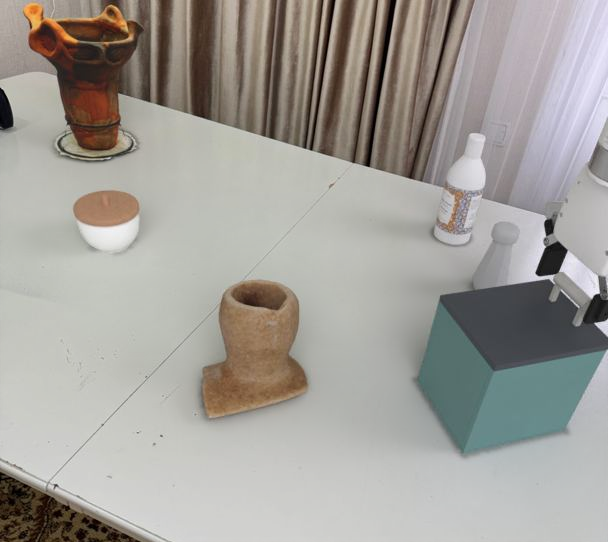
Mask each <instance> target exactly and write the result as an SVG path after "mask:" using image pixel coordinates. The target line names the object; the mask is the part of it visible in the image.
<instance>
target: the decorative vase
mask: <svg viewBox="0 0 608 542" xmlns="http://www.w3.org/2000/svg"><path fill="white" fill-rule="evenodd" d="M22 13H23V15H24V17H25V19H27V21H28V24H29V30H30V31H29V33H28V36H27V37H28V39H27V41H28V47H29V48H30V50H31V51H33V52H35V53H37V54H39V55H40V56H42V57H43V58H44V59H46V60H47V61H48V62H49V63H50V64H51V65H52V66H53V67H54V68H55V70H56V78H57V84H58V88H59V95H60V101H61V104H62V108H63V112H64V114H65V115H64V119H65V122H66V126H65V127H68V126H69V129H70V131H69V130H68V131H65V132H64V133H62V134H59V135H58V136H57V137H55V142H54V147H55V149H56V150H55V151H57V152H60V153H59V155H62V156H69V157H70V158H73V159H79V160H83V161H84V160H86V161H103V160H110V159H112V157H114V156H121V155H123V154H125V153H129V152H133V151H134V150H137V149H138V148H137V147H136V146H137V145H138V143H137V142H136V139H135V138H134V136H132V135H131V134H130V133H128V132H125V131H124V130H123V129H121V130H120V127H122V125H121V120H122V117H121V115H120V99H119V82H120V71H121V69H122V68H123V66H124V65H125V64H127V62H128V61H129V60H131V58H132V56H133V54H134V53H135V51H136V50H137V47H138V42H139V37H140V35H141V34H142V33H143V32H145V28H144V26H143V25H142V24H141V23H139V22H138V21H136V20H134V19H130V18H129V19H127V20H125V19H124V16H123V14H122V12H121V10H120V9H119V7H117V6H115V5H112V4H110V5H108V6H106V7H105V9H104V10H103V12H102V13H101V14H99V15H97V16H95V17H57V18H51V17H44V6H42V5H41V4H40V3H37V2H30V3H28V4H27V5H24V8H23V9H22Z"/></svg>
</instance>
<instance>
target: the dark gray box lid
mask: <svg viewBox="0 0 608 542" xmlns="http://www.w3.org/2000/svg"><path fill="white" fill-rule="evenodd" d="M439 300H440V302H441V303H442V304H443V305H444V307H445V308H446V309H447V311H448V312H449V313H450V315H451V316H452V317H453V318H454V320H455V321H456V322H457V324H458V325H459V326H460V328H461V329H462V330H463V332H464V333H465V334H466V335H467V337H468V338H469V339H470V341H471V342H472V343H473V345H474V346H475V347H476V348H477V350H478V351H479V352H480V354H481V355H482V356H483V358H484V359H485V360H486V361H487V363H488V364H489V365H490V367H491V368H492V369H493V371H499V370H504V369H510V368H515V367H520V366H525V365H531V364H536V363H541V362H546V361H551V360H557V359H562V358H567V357H572V356H578V355H583V354H588V353H593V352H598V351H604V350H607V351H608V336H607V335H606V333H604V331H603V330H602V329H600V327H599V326H598V325H596V323H592V324H585V323H584V322H583V317H584V315H585V313H586V311H587V308H588V306H589V304H590V302H591V300H592V297H590V296H589V295H588V294H587V293H586V292H585V291H584V290H583V289H582V288H581V287H580V286H579V285H578V284H577V283H576V282H574V280H573V279H572V278H570V277H569V276H568V275H567V274H566V273H565V272H564V271H559V273H557V274H555V275H553V278H552V280H551V279H550V278H546V279H545V278H544V279H539V280H534V281H526V282H525V281H524V282H519V283H512V284H507V285H505V286H498V287H491V288H485V289H478V290H474V289H471V290H465V291H458V292H452V293H451V292H450V293H446V294H440V295H439V299H438V301H439Z"/></svg>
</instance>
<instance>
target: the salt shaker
mask: <svg viewBox="0 0 608 542" xmlns="http://www.w3.org/2000/svg"><path fill="white" fill-rule="evenodd" d="M520 233H521V230H520V228H519V226H518V225H516V224H515V223H513V222H510V221H499V222H496V223H494V225H493V226H492V229H491V233H490V236H491V238H492V241H491V242H490V244H489V246H488V248H487V249H486V251H485V254H484V255H483V257H482V259H481V260H480V262H479V264H478V266H477V268H476V269H475V271H474V273H473V275H472V277H471V278H472V279H471V280H472V281H471V282H472V287H473V290H478V289H485V288H491V287H498V286H505V285H508V280H509V273H510V264H511V257H512V250H513V245H514V244H515V243H517V242H518V240H519V238H520Z"/></svg>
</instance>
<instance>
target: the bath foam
mask: <svg viewBox="0 0 608 542" xmlns="http://www.w3.org/2000/svg"><path fill="white" fill-rule="evenodd" d="M486 140H487V139H486V136H485V135H484V134H482V133H477V132H472V133H469V135H468V136H467V140H466V145H465V149H464V153H463V155H462V156H460V157H459V158H457V160H456V161H455V162H454V163H453V164H452V165H451V167H450V168H449V171H448V172H447V175H446V178H445V182H444V185H443V191H442V195H441V199H440V203H439V208H438V211H437V215H436V219H435V224H434V228H433V235H434V237H435V238H436V239H437V240H438V241H440V242H442V243H444V244H447V245H453V246H460V245H464V244H467V243H468V242H469V241H470V238H471V235H472V231H473V228H474V225H475V222H476V218H477V214H478V212H479V211H478V210H479V207H480V204H481V200H482V198H483V197H482V196H483V194H484V190H485V186H486V178H487V175H486V169H485V166H484V162H483V160H482V158H481V157H482V153H483V150H484V146H485V143H486Z"/></svg>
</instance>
